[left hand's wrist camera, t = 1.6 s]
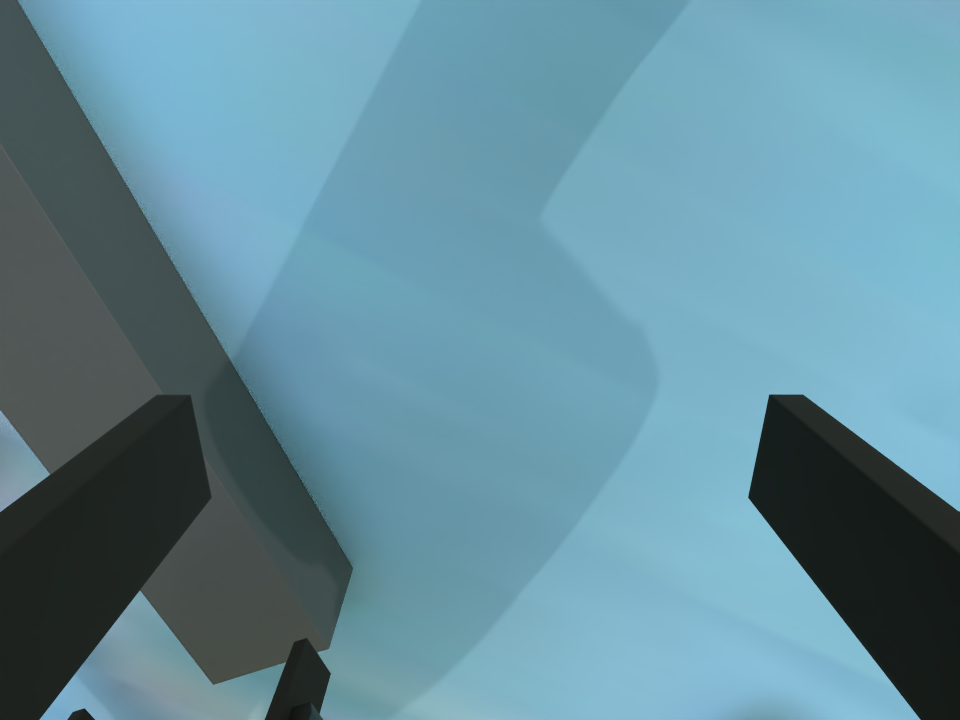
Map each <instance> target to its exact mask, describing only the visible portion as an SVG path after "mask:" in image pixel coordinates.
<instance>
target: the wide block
mask: <svg viewBox="0 0 960 720" xmlns="http://www.w3.org/2000/svg"><path fill="white" fill-rule="evenodd" d="M156 395H191V399H192V404H193V409H194V413H195V418H196V423H197V428H198V433H199V438H200V443H201V448H202V452H203V457H204V462H205V467H206V472H207V477H208V482H209V487H210V491H211V496H212V498H211V499H210V500H209V502H208V503H207V504H206V506H205V507H204V508H203V509H202V511H201V512H200V513H199V515H198V516H197V517H196V518H195V520H194V521H193V522H192V524H191V525H190V526H189V527H188V529H187V530H186V531H185V533H184V534H183V535H182V537H181V538H180V539H179V540H178V542H177V543H176V544H175V546H174V547H173V548H172V549H171V551H170V552H169V553H168V555H167V556H166V557H165V558H164V560H163V561H162V562H161V564H160V565H159V566H158V567H157V569H156V570H155V571H154V573H153V574H152V575H151V576H150V578H149V579H148V580H147V582H146V583H145V584H144V585H143V587H142V588H141V589H140V591H141V592H142V593H143V595H144V596H145V597H146V598H147V600H148V601H149V602H150V604H151V605H152V606H153V607H154V609H155V610H156V611H157V613H158V614H159V615H160V617H161V618H162V619H163V620H164V622H165V623H166V624H167V626H168V627H169V628H170V629H171V631H172V632H173V633H174V635H175V636H176V637H177V638H178V640H179V641H180V642H181V644H182V645H183V646H184V647H185V649H186V650H187V651H188V653H189V654H190V655H191V657H192V658H193V659H194V660H195V662H196V663H197V664H198V666H199V667H200V668H201V669H202V671H203V672H204V673H205V675H206V676H207V677H208V678H209V680H210V681H211V682H212V684H213V685H214V684H217V683H220V682H224V681H227V680H230V679H233V678H236V677H240V676H243V675H246V674H249V673H252V672H256V671H259V670H262V669H265V668H268V667H272V666H275V665H278V664H281V663H284V662H287V659H288V657H289V654H290V651H291V649H292V646H293V643H294V642H295V641H298V640H301V639H305V638H307V639H308V640H309V642H310V643H311V645H312V646H313V648H314V649H315V651H316V652H319V651H323V650H326V649H329V647H330V643H331V640H332V637H333V633H334V630H335V627H336V623H337V620H338V617H339V613H340V610H341V606H342V603H343V600H344V596H345V593H346V590H347V586H348V583H349V580H350V576H351V573H352V570H353V568H352V566H351V565H350V563H349V561H348V560H347V558H346V556H345V554H344V553H343V551H342V549H341V548H340V546H339V544H338V543H337V541H336V539H335V538H334V536H333V534H332V532H331V531H330V529H329V527H328V526H327V524H326V522H325V521H324V519H323V517H322V516H321V514H320V512H319V511H318V509H317V507H316V505H315V504H314V502H313V500H312V499H311V497H310V495H309V494H308V492H307V490H306V489H305V487H304V485H303V483H302V482H301V480H300V478H299V477H298V475H297V473H296V472H295V470H294V468H293V467H292V465H291V463H290V461H289V460H288V458H287V456H286V455H285V453H284V451H283V450H282V448H281V446H280V445H279V443H278V441H277V439H276V438H275V436H274V434H273V433H272V431H271V429H270V428H269V426H268V424H267V423H266V421H265V419H264V417H263V416H262V414H261V412H260V411H259V409H258V407H257V406H256V404H255V402H254V401H253V399H252V397H251V396H250V394H249V392H248V390H247V389H246V387H245V385H244V384H243V382H242V380H241V379H240V377H239V375H238V374H237V372H236V370H235V368H234V367H233V365H232V363H231V362H230V360H229V358H228V357H227V355H226V353H225V352H224V350H223V348H222V346H221V345H220V343H219V341H218V340H217V338H216V336H215V335H214V333H213V331H212V330H211V328H210V326H209V324H208V323H207V321H206V319H205V318H204V316H203V314H202V313H201V311H200V309H199V308H198V306H197V304H196V303H195V301H194V299H193V297H192V296H191V294H190V292H189V291H188V289H187V287H186V286H185V284H184V282H183V281H182V279H181V277H180V275H179V274H178V272H177V270H176V269H175V267H174V265H173V264H172V262H171V260H170V259H169V257H168V255H167V253H166V252H165V250H164V248H163V247H162V245H161V243H160V242H159V240H158V238H157V237H156V235H155V233H154V231H153V230H152V228H151V226H150V225H149V223H148V221H147V220H146V218H145V216H144V215H143V213H142V211H141V209H140V208H139V206H138V204H137V203H136V201H135V199H134V198H133V196H132V194H131V193H130V191H129V189H128V188H127V186H126V184H125V182H124V181H123V179H122V177H121V176H120V174H119V172H118V171H117V169H116V167H115V166H114V164H113V162H112V160H111V159H110V157H109V155H108V154H107V152H106V150H105V149H104V147H103V145H102V144H101V142H100V140H99V138H98V137H97V135H96V133H95V132H94V130H93V128H92V127H91V125H90V123H89V122H88V120H87V118H86V116H85V115H84V113H83V111H82V110H81V108H80V106H79V105H78V103H77V101H76V100H75V98H74V96H73V95H72V93H71V91H70V89H69V88H68V86H67V84H66V83H65V81H64V79H63V78H62V76H61V74H60V73H59V71H58V69H57V67H56V66H55V64H54V62H53V61H52V59H51V57H50V56H49V54H48V52H47V51H46V49H45V47H44V45H43V44H42V42H41V40H40V39H39V37H38V35H37V34H36V32H35V30H34V29H33V27H32V25H31V23H30V22H29V20H28V18H27V17H26V15H25V13H24V12H23V10H22V8H21V7H20V5H19V3H18V1H17V0H0V410H1V411H2V413H3V414H4V415H5V416H6V418H7V419H8V420H9V422H10V423H11V424H12V425H13V427H14V428H15V429H16V431H17V432H18V433H19V434H20V436H21V437H22V438H23V440H24V441H25V442H26V443H27V445H28V446H29V447H30V449H31V450H32V451H33V453H34V454H35V455H36V456H37V458H38V459H39V460H40V462H41V463H42V464H43V465H44V467H45V468H46V469H47V471H48V472H49V473H50V474H52V473H53V472H55V471H56V470H57V469H59V468H60V467H61V466H63V465H64V464H65V463H67V462H68V461H69V460H71V459H72V458H73V457H75V456H76V455H77V454H79V453H80V452H81V451H83V450H84V449H85V448H87V447H88V446H89V445H91V444H92V443H93V442H95V441H96V440H97V439H99V438H100V437H101V436H103V435H104V434H105V433H107V432H108V431H109V430H111V429H112V428H113V427H115V426H116V425H117V424H119V423H120V422H121V421H123V420H124V419H125V418H127V417H128V416H129V415H131V414H132V413H133V412H135V411H136V410H137V409H139V408H140V407H141V406H143V405H144V404H145V403H147V402H148V401H149V400H151V399H152V398H153V397H155V396H156Z"/></svg>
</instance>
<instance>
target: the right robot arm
mask: <svg viewBox="0 0 960 720" xmlns="http://www.w3.org/2000/svg"><path fill="white" fill-rule="evenodd" d="M330 675H331V673H330V672H329V670H328V669H327V667H326V666H325V664H324V663H323V661H322V660H321V658H320V657H319V655H318V654H317V652H316V651H315V649H314V648H313V646H312V645H311V643H310V642H309V640H308V639H307V638H305V639H301V640H298V641H295V642H294V643H293V646H292V649H291V651H290V654H289V657H288V659H287V662H286V665H285V667H284V670H283V673H282V675H281V678H280V681H279V683H278V686H277V689H276V691H275V694H274V697H273V699H272V702H271V705H270V707H269V710H268V713H267V715H266V718H265V720H323V719H322V717H321V716H320V715H319V714H320V710H321V707H322V703H323V699H324V696H325V692H326V689H327V685H328V682H329V678H330ZM68 720H95V719H94V718H93V717H92V716H91V715H90V714H89V713H88V712H87V710H86V709H85V708H84V709H81V710H78V711H75V712H73V713H72V714H71V716H70V717H69V718H68Z"/></svg>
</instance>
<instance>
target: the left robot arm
mask: <svg viewBox="0 0 960 720" xmlns="http://www.w3.org/2000/svg"><path fill="white" fill-rule="evenodd" d="M211 498H212V496H211V491H210V487H209V482H208V477H207V472H206V467H205V462H204V457H203V452H202V448H201V443H200V438H199V433H198V428H197V423H196V418H195V413H194V409H193V404H192V399H191V395H156V396H155V397H153V398H152V399H151V400H149V401H148V402H147V403H145V404H144V405H143V406H141V407H140V408H139V409H137V410H136V411H135V412H133V413H132V414H131V415H129V416H128V417H127V418H125V419H124V420H123V421H121V422H120V423H119V424H117V425H116V426H115V427H113V428H112V429H111V430H109V431H108V432H107V433H105V434H104V435H103V436H101V437H100V438H99V439H97V440H96V441H95V442H93V443H92V444H91V445H89V446H88V447H87V448H85V449H84V450H83V451H81V452H80V453H79V454H77V455H76V456H75V457H73V458H72V459H71V460H69V461H68V462H67V463H65V464H64V465H63V466H61V467H60V468H59V469H57V470H56V471H55V472H53V473H52V474H51V475H49V476H48V477H47V478H45V479H44V480H43V481H41V482H40V483H39V484H37V485H36V486H35V487H33V488H32V489H31V490H29V491H28V492H27V493H25V494H24V495H23V496H21V497H20V498H19V499H17V500H16V501H15V502H13V503H12V504H11V505H9V506H8V507H7V508H5V509H4V510H3V511H1V512H0V720H39V719H40V718H41V717H42V716H43V714H44V713H45V712H46V710H47V709H48V708H49V707H50V705H51V704H52V703H53V701H54V700H55V699H56V698H57V696H58V695H59V694H60V692H61V691H62V690H63V688H64V687H65V686H66V685H67V683H68V682H69V681H70V679H71V678H72V677H73V676H74V674H75V673H76V672H77V670H78V669H79V668H80V667H81V665H82V664H83V663H84V661H85V660H86V659H87V658H88V656H89V655H90V654H91V652H92V651H93V650H94V649H95V647H96V646H97V645H98V643H99V642H100V641H101V640H102V638H103V637H104V636H105V634H106V633H107V632H108V631H109V629H110V628H111V627H112V625H113V624H114V623H115V622H116V620H117V619H118V618H119V616H120V615H121V614H122V613H123V611H124V610H125V609H126V607H127V606H128V605H129V603H130V602H131V601H132V600H133V598H134V597H135V596H136V594H137V593H138V592H139V591H140V589H141V588H142V587H143V585H144V584H145V583H146V582H147V580H148V579H149V578H150V576H151V575H152V574H153V573H154V571H155V570H156V569H157V567H158V566H159V565H160V564H161V562H162V561H163V560H164V558H165V557H166V556H167V555H168V553H169V552H170V551H171V549H172V548H173V547H174V546H175V544H176V543H177V542H178V540H179V539H180V538H181V537H182V535H183V534H184V533H185V531H186V530H187V529H188V527H189V526H190V525H191V524H192V522H193V521H194V520H195V518H196V517H197V516H198V515H199V513H200V512H201V511H202V509H203V508H204V507H205V506H206V504H207V503H208V502H209V500H210V499H211ZM748 498H749V499H750V500H751V502H752V503H753V504H754V506H755V507H756V508H757V509H758V511H759V512H760V513H761V515H762V516H763V517H764V518H765V520H766V521H767V522H768V524H769V525H770V526H771V527H772V529H773V530H774V531H775V533H776V534H777V535H778V537H779V538H780V539H781V540H782V542H783V543H784V544H785V546H786V547H787V548H788V549H789V551H790V552H791V553H792V555H793V556H794V557H795V558H796V560H797V561H798V562H799V564H800V565H801V566H802V567H803V569H804V570H805V571H806V573H807V574H808V575H809V576H810V578H811V579H812V580H813V582H814V583H815V584H816V585H817V587H818V588H819V589H820V591H821V592H822V593H823V594H824V596H825V597H826V598H827V600H828V601H829V602H830V603H831V605H832V606H833V607H834V609H835V610H836V611H837V613H838V614H839V615H840V616H841V618H842V619H843V620H844V622H845V623H846V624H847V625H848V627H849V628H850V629H851V631H852V632H853V633H854V634H855V636H856V637H857V638H858V640H859V641H860V642H861V643H862V645H863V646H864V647H865V649H866V650H867V651H868V652H869V654H870V655H871V656H872V658H873V659H874V660H875V661H876V663H877V664H878V665H879V667H880V668H881V669H882V670H883V672H884V673H885V674H886V676H887V677H888V678H889V679H890V681H891V682H892V683H893V685H894V686H895V687H896V689H897V690H898V691H899V692H900V694H901V695H902V696H903V698H904V699H905V700H906V701H907V703H908V704H909V705H910V707H911V708H912V709H913V710H914V712H915V713H916V714H917V716H918V717H919V718H920V719H921V720H960V512H959V511H957V510H956V509H955V508H953V507H952V506H951V505H949V504H948V503H947V502H945V501H944V500H943V499H941V498H940V497H939V496H937V495H936V494H935V493H933V492H932V491H931V490H929V489H928V488H927V487H925V486H924V485H923V484H921V483H920V482H919V481H917V480H916V479H915V478H913V477H912V476H911V475H909V474H908V473H907V472H905V471H904V470H903V469H901V468H900V467H899V466H897V465H896V464H895V463H893V462H892V461H891V460H889V459H888V458H887V457H885V456H884V455H883V454H881V453H880V452H879V451H877V450H876V449H875V448H873V447H872V446H871V445H869V444H868V443H867V442H865V441H864V440H863V439H861V438H860V437H859V436H857V435H856V434H855V433H853V432H852V431H851V430H849V429H848V428H847V427H845V426H844V425H843V424H841V423H840V422H839V421H837V420H836V419H835V418H833V417H832V416H831V415H829V414H828V413H827V412H825V411H824V410H823V409H821V408H820V407H819V406H817V405H816V404H815V403H813V402H812V401H811V400H809V399H808V398H807V397H805V396H804V395H769V399H768V404H767V409H766V413H765V418H764V423H763V428H762V433H761V438H760V443H759V448H758V452H757V457H756V462H755V467H754V472H753V477H752V482H751V487H750V491H749V496H748Z"/></svg>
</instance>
